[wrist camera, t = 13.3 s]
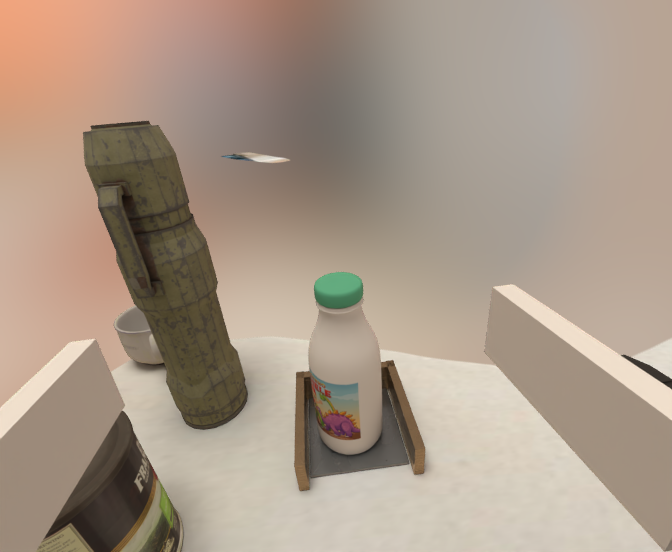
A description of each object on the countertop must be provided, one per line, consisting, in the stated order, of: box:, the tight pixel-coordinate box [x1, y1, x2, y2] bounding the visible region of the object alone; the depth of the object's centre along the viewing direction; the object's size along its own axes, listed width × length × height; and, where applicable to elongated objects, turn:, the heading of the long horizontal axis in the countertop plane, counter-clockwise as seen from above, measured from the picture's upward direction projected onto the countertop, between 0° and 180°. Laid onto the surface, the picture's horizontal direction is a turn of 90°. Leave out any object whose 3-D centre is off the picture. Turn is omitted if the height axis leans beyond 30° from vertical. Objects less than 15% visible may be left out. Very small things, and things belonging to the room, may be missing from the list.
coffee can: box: [36, 411, 183, 552], centre depth 27 cm, size 10×10×14 cm
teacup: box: [114, 305, 164, 364], centre depth 53 cm, size 14×11×8 cm
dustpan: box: [294, 360, 425, 491], centre depth 39 cm, size 15×13×8 cm
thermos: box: [83, 121, 248, 429], centre depth 38 cm, size 9×12×35 cm
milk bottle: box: [309, 272, 382, 455], centre depth 35 cm, size 8×8×20 cm
